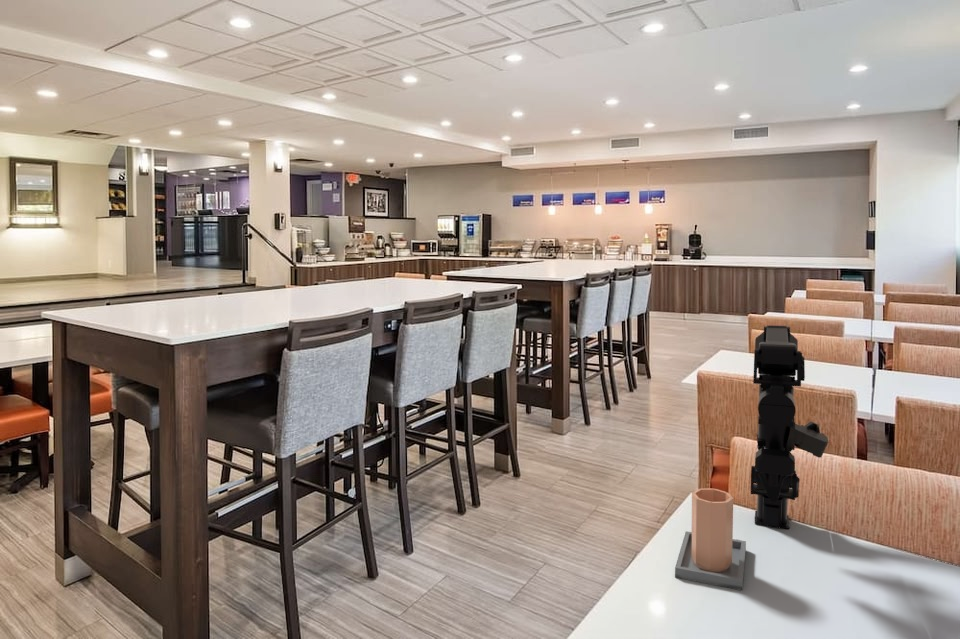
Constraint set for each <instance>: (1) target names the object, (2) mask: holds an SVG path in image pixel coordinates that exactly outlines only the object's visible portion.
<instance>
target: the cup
mask: <svg viewBox="0 0 960 639" xmlns="http://www.w3.org/2000/svg"><path fill="white" fill-rule="evenodd" d="M733 530H734V497H733V496H732V495H731V494H730V493H729V492H728V491H724V490H721V489H717V488H698V489H695V491H693V492H692V493H691V532H692V547H691V556H692V558H693V562H694V564H695V566H696V567H698V568H699V569H701V570H704V571H707V572H713V573H722V572H725V571H727V570H729V568H730V565H731V564H732V541H733V539H734V534H733V532H734V531H733Z"/></svg>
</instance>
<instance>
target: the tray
mask: <svg viewBox="0 0 960 639" xmlns="http://www.w3.org/2000/svg"><path fill="white" fill-rule="evenodd" d="M683 536H684V537H683V539H682V543H681V547H680V550H679V553H678V556H677V560H676V563H675V567H674V578H676V579H677V578H678V579H681V580H688V581H691V582H693V581H694V582H698V583H702V584H708V585H713V586H716V587H717V586H718V587H723V588H727V589H731V590H733V589H734V590H736V591H737V590H738V591H743V589H744V588H743V587H744V577H745V565H746V550H747V541H746V540H740V539H734V538H733V541H732V564H731V565H730V568H729V570H727V571H725V572H722V573H713V572H707V571H704V570H701V569H699V568H698V567H696V566H695V564H694V562H693V558H692V556H691V547H692V531H685V532H684V535H683Z"/></svg>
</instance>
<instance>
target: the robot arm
mask: <svg viewBox="0 0 960 639" xmlns="http://www.w3.org/2000/svg"><path fill="white" fill-rule="evenodd" d="M798 341H799V340H798V338H796V336H794V335H793V334H792V333H791V327H790V326H787V325H777V324H776V325H774V324H773V325H772V324H769V325H768V324H767V325H765V326H763V332H762V333H760V334H759V335H757V337H755V339H754V354H753V355H754V356H753V378H752V379H753V384H754V385H755V384H756V385H759V386H758V403H757V411H758V412H757V413H758V418H757V419H758V420H757V427H758V428H757V433H756V443H757V445H756V448H757V451H755V458H754V465H751V467H750V468H751V469H750V495H755V496H756V495H757V499H756V500H757V502H756V503H757V504H756V506H757V507H756V510H755V511H754V525H756V526H762V527H770V528H774V529H783V530H790V516H789V514H788V500H793V501H796V498H799V495H800V494H799V493H800V478H799V476H798V475H797V470H796V458H795V455H794V454H793V453H792V451H795V447H796V448H798V449H800V450H803V451H804V452H807V453H810V454H812V456H814V457H816V458H822V456H823V454H824V453H825V450H826V449H827V446H828V445H829V439H828V436H827V435H825V433H823V432H822V433H821V431H820V425H819V424H818V423H815V422H814V421H809V422H808V423H806V424H805V425H804V424H801V425H800V424H798V423H796V421H795V420H796V419H795V416H796V404H795V398H794V396H795V395H794V394H795V393H794V391H795V388H794V387H799V388H800V387H802V381H803V382H804V381H805V378H806V371H805V367H806V366H805V357H804V356H803V353H802V352H801V350H798V348H799V346H798V345H799V343H798ZM758 374H759V375H758ZM795 376H796V377H795Z"/></svg>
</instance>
